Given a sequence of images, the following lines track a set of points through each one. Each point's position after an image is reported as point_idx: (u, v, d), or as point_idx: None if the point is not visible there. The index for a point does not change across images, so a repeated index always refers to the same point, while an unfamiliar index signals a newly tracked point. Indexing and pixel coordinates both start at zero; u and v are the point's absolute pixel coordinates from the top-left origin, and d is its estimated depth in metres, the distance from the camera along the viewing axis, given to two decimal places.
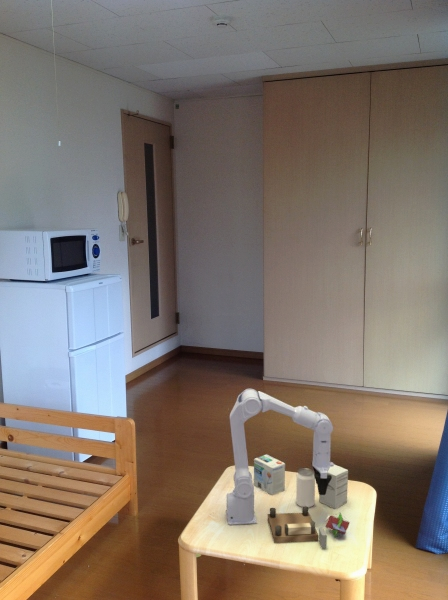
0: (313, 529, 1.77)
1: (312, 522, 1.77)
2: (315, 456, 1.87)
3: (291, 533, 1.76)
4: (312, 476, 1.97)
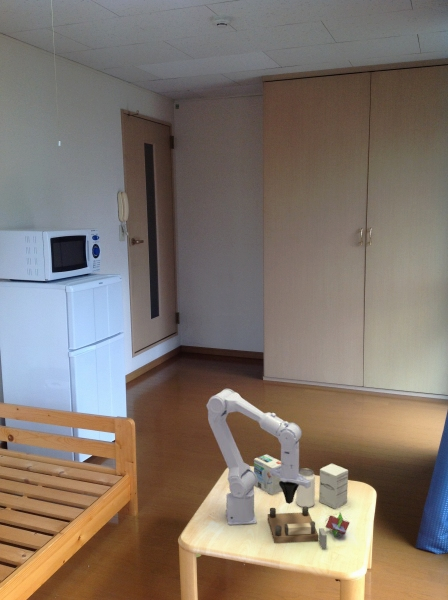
0: (313, 529, 1.77)
1: (312, 522, 1.77)
2: None
3: (291, 533, 1.76)
4: (312, 476, 1.97)
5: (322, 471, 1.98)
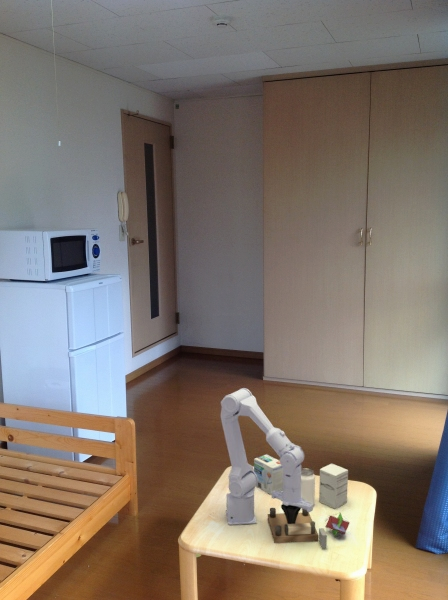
0: (313, 529, 1.77)
1: (312, 522, 1.77)
2: None
3: (291, 533, 1.76)
4: (312, 476, 1.97)
5: (322, 471, 1.98)
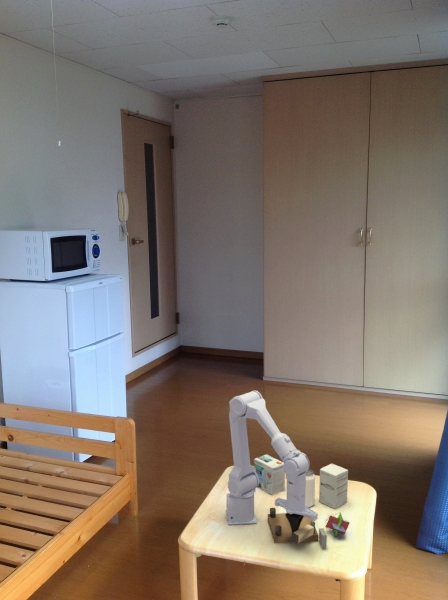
0: (314, 528, 1.77)
1: (312, 522, 1.77)
2: None
3: (300, 540, 1.72)
4: (312, 476, 1.97)
5: (322, 471, 1.98)
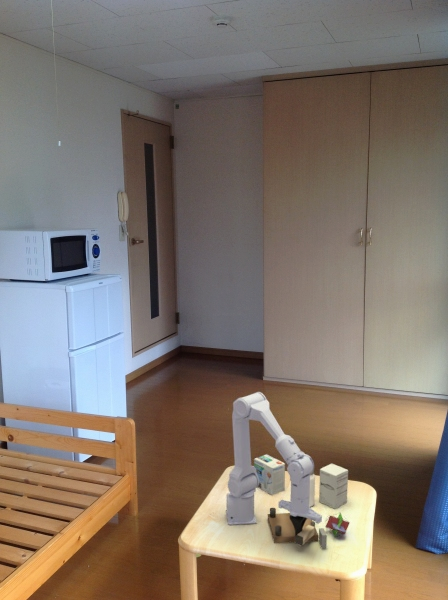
0: (314, 528, 1.77)
1: (312, 522, 1.77)
2: None
3: (304, 541, 1.72)
4: (312, 476, 1.97)
5: (322, 471, 1.98)
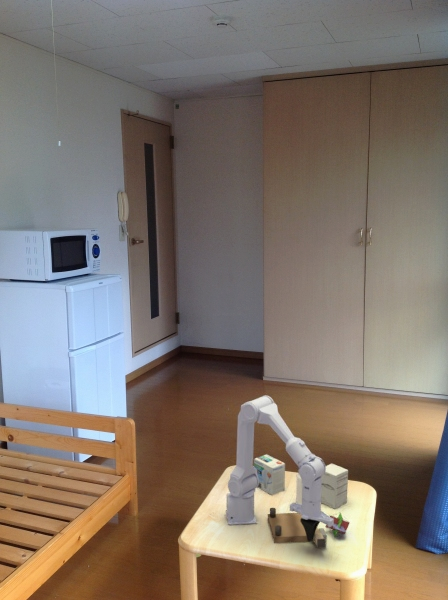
0: None
1: None
2: None
3: None
4: None
5: None
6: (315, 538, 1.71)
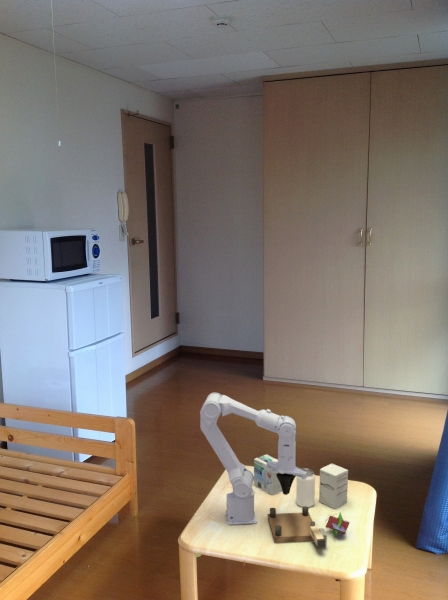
0: None
1: (313, 522, 1.77)
2: None
3: None
4: (312, 476, 1.96)
5: (322, 471, 1.98)
6: (315, 538, 1.71)
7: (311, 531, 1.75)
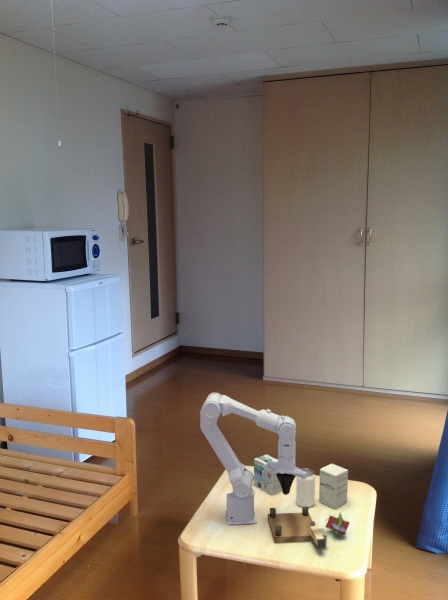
0: None
1: (313, 522, 1.77)
2: None
3: None
4: (312, 476, 1.97)
5: (322, 471, 1.98)
6: (315, 538, 1.71)
7: (311, 531, 1.75)
